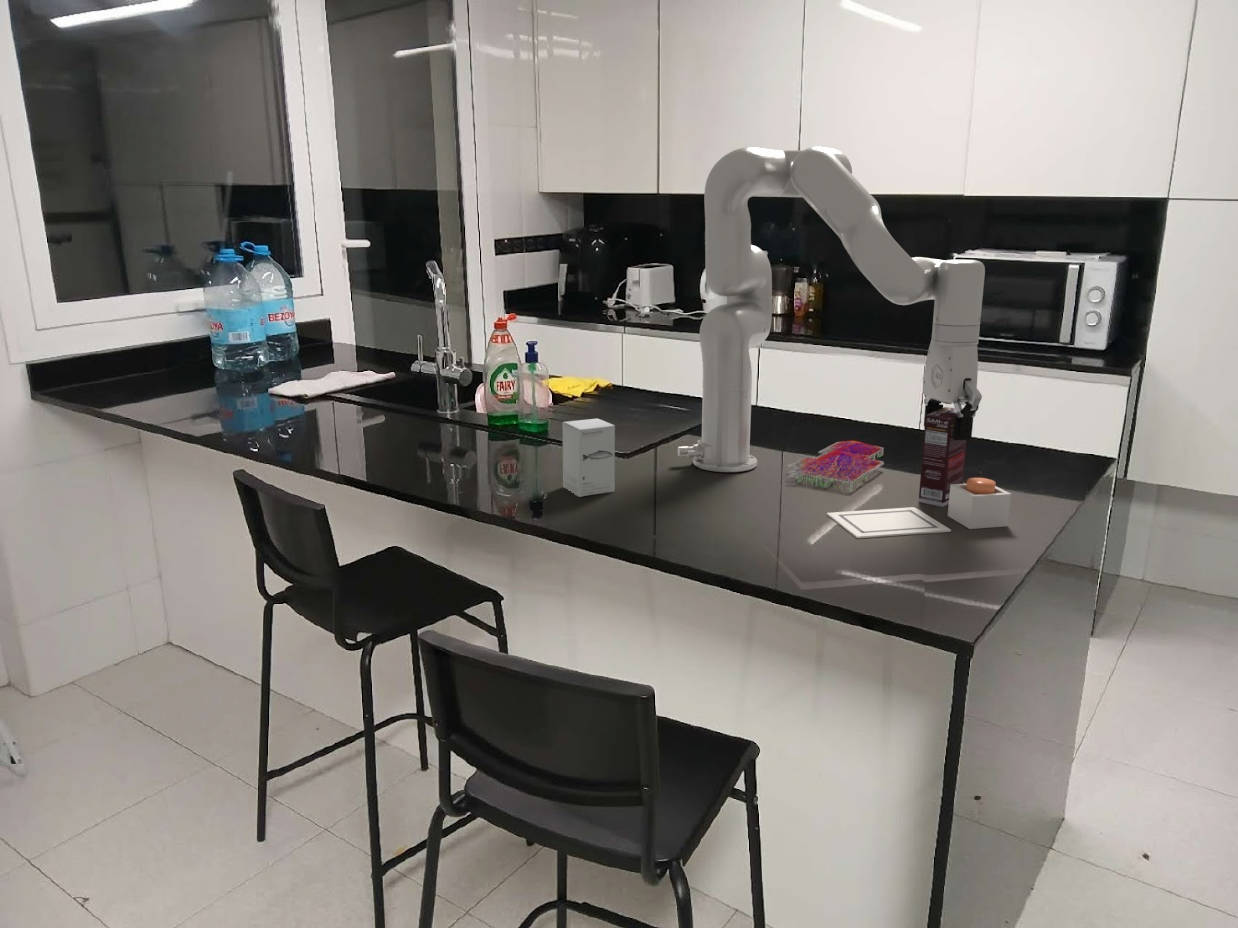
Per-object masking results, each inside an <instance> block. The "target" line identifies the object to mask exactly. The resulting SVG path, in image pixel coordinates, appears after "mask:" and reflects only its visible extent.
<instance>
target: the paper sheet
mask: <svg viewBox="0 0 1238 928" xmlns="http://www.w3.org/2000/svg"><path fill="white" fill-rule="evenodd" d="M826 515H827V516H828V517H829V518H831V519H832V520H833V521H834V522H835V523H837V524H838V525H839V526H841V528H843V529H845V530H846V531H847V532H848V533H850V534H851V535H852V536H853V537H854V538H856V539H867V538H881V537H895V536H896V537H897V536H908V535H909V536H910V535H911V536H912V535H922V534H923V535H924V534H925V535H926V534H938V533H939V534H940V533H951V532H952V529H950V528H949V527H947V526H946V525H944V524H942V523H941V522H939V521H937V520H936V519H935V518H932V516H930V515H928V514H926V513H925V512H923V511H922V510H920V509H918V508H916V507H914V506H913V507H912V506H911V507H909V506H908V507H897V508H896V507H895V508H883V509H882V508H880V509H867V510H866V509H865V510H851V511H850V510H849V511H838V512H837V511H836V512H826Z"/></svg>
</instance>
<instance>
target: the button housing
mask: <svg viewBox="0 0 1238 928" xmlns="http://www.w3.org/2000/svg"><path fill="white" fill-rule="evenodd" d="M966 485H967V482H966V483H963V484H951V485H950V496H949V504H948V505H947V506H948V509H947V517H949V518H950V519H953V520H954V521H955V522H957V523H958V524H961V525H962V526H964V527H965V528H966V529H967V528H968V529H969V530H973V529H975V530H976V529H988V528H1004V527H1009V518H1010V509H1011V503H1012V501H1011V500H1012V493H1011V492H1009V491H1006V490H1005V489H1003V488H1001V487H998V486H996V485H995V493H993V494H977V495H974V494H972V493H971V492H969V491H967V490H966Z"/></svg>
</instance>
